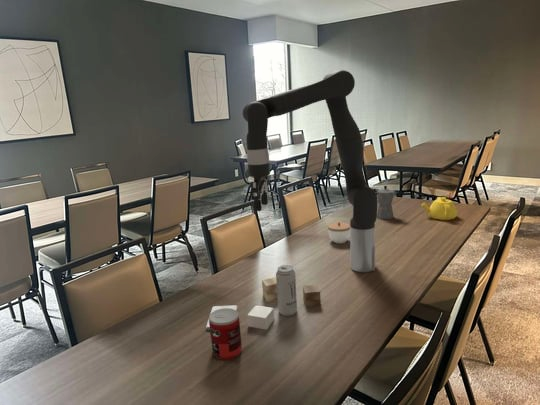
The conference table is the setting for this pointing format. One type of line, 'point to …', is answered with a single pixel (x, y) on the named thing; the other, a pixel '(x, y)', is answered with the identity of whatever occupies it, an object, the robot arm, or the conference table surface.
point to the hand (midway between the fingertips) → (261, 207)
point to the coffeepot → (385, 203)
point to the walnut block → (311, 295)
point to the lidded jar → (339, 232)
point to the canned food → (225, 333)
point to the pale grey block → (261, 317)
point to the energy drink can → (286, 290)
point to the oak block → (269, 289)
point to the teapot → (441, 209)
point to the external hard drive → (217, 309)
